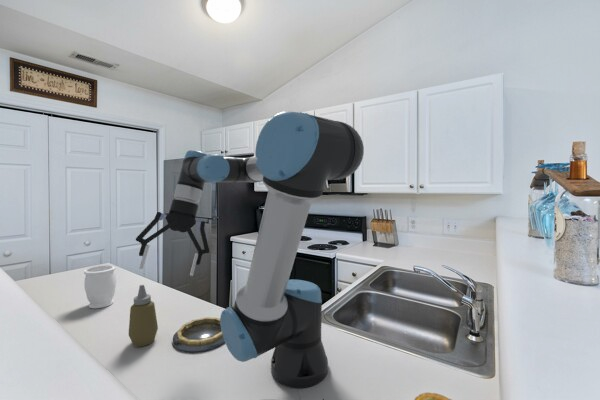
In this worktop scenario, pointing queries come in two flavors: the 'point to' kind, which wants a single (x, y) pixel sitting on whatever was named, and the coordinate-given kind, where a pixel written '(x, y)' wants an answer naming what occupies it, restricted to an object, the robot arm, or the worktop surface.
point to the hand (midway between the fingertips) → (167, 271)
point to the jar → (100, 285)
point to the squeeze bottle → (142, 319)
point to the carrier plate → (199, 335)
